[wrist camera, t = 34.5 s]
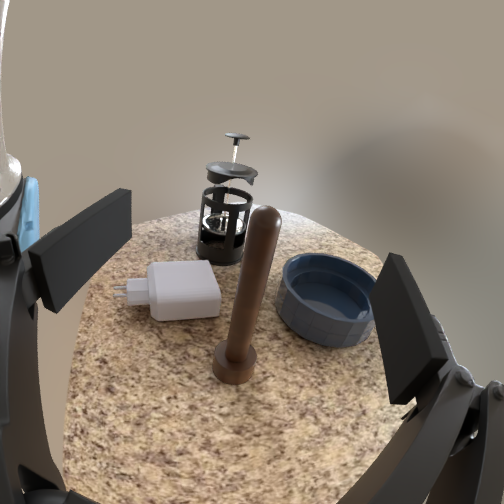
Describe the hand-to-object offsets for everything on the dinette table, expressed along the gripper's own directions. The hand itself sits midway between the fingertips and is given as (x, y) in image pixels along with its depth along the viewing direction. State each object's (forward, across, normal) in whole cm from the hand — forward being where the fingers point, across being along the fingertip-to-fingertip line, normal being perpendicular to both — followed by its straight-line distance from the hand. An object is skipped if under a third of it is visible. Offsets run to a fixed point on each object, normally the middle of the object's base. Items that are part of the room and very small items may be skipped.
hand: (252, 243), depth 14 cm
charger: (+18, -12, -24) cm, 32 cm away
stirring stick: (+10, 0, -23) cm, 25 cm away
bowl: (+25, +12, -23) cm, 36 cm away
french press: (+36, -8, -24) cm, 44 cm away
